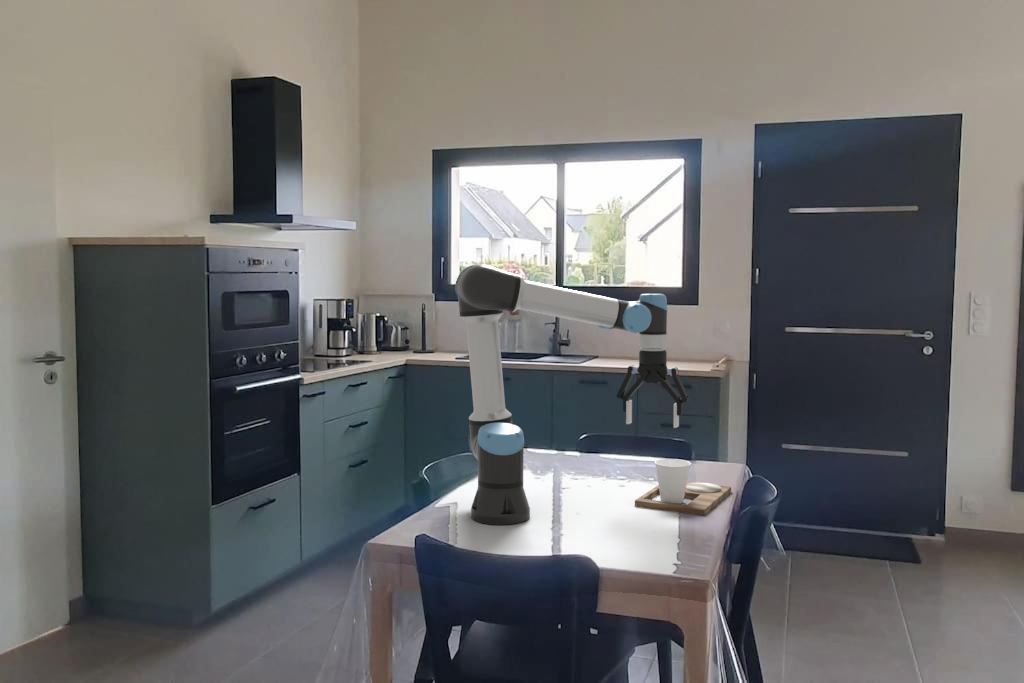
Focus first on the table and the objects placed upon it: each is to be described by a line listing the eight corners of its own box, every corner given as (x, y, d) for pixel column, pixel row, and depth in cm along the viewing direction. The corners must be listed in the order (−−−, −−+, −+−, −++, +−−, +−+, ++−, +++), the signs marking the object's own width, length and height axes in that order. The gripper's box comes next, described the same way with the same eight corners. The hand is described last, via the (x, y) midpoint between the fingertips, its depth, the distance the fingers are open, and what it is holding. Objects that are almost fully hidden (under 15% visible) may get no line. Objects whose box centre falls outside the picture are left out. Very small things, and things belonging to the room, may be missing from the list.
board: (704, 515, 227) (704, 507, 227) (634, 505, 236) (634, 498, 236) (731, 491, 252) (731, 485, 252) (667, 484, 261) (667, 477, 261)
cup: (690, 507, 235) (691, 467, 234) (652, 505, 237) (653, 465, 236) (690, 498, 244) (691, 459, 244) (654, 496, 246) (655, 457, 246)
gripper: (700, 349, 240) (700, 426, 242) (614, 346, 251) (614, 420, 253) (693, 352, 234) (692, 430, 235) (605, 348, 245) (605, 424, 246)
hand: (652, 425), depth 244 cm, fingers open, 13 cm apart
